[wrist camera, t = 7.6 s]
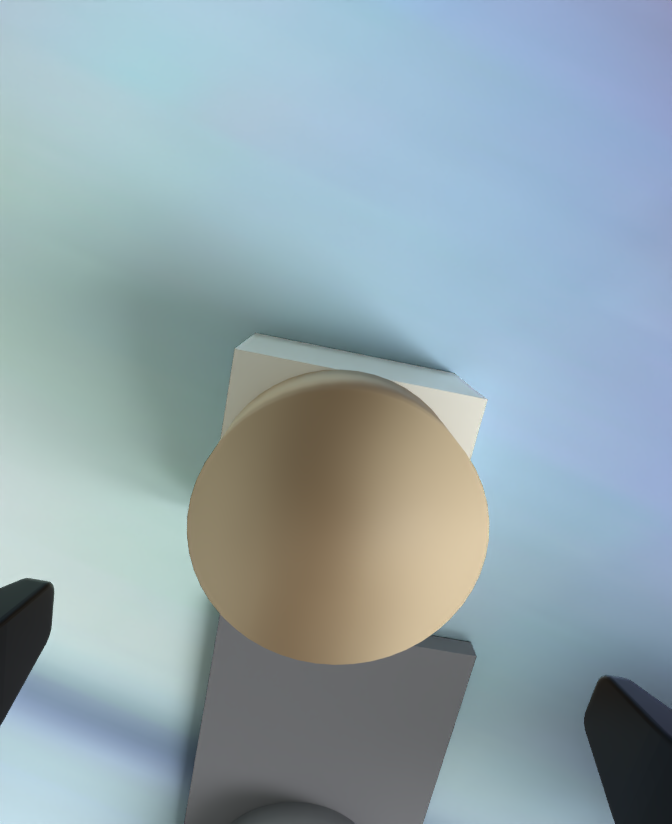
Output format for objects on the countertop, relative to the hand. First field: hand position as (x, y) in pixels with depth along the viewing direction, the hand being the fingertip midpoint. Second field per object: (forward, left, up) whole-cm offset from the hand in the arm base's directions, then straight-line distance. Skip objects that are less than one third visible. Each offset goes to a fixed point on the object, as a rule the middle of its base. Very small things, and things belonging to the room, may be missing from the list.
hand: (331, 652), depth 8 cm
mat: (-2, +15, -11) cm, 19 cm away
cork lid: (0, 0, -7) cm, 7 cm away
